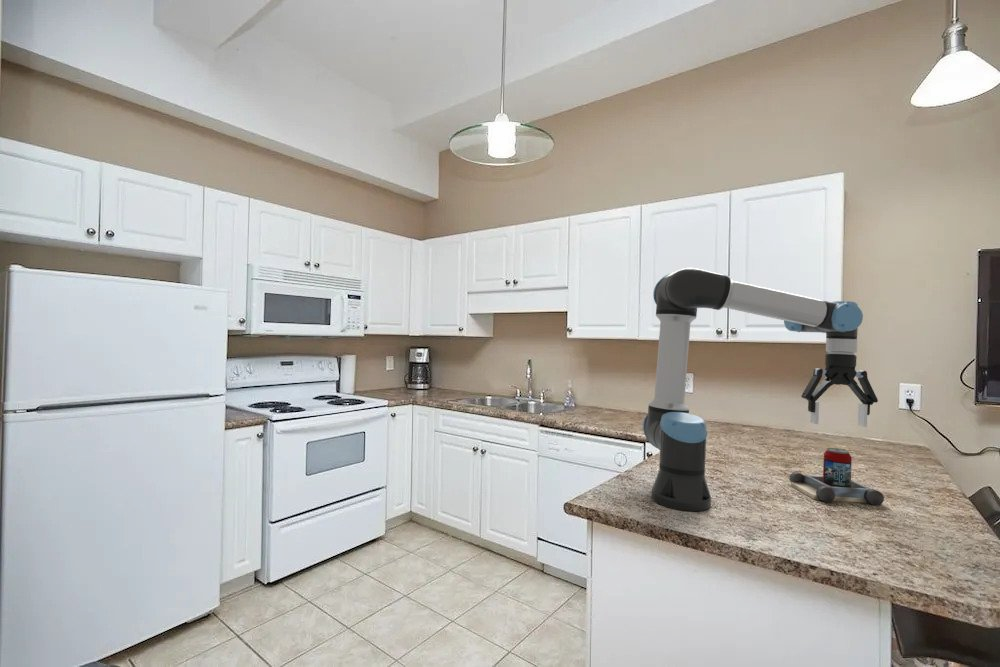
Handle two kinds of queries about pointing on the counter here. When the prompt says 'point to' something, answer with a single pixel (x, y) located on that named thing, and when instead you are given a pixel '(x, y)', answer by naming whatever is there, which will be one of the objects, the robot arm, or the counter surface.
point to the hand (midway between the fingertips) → (838, 424)
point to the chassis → (834, 490)
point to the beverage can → (837, 468)
